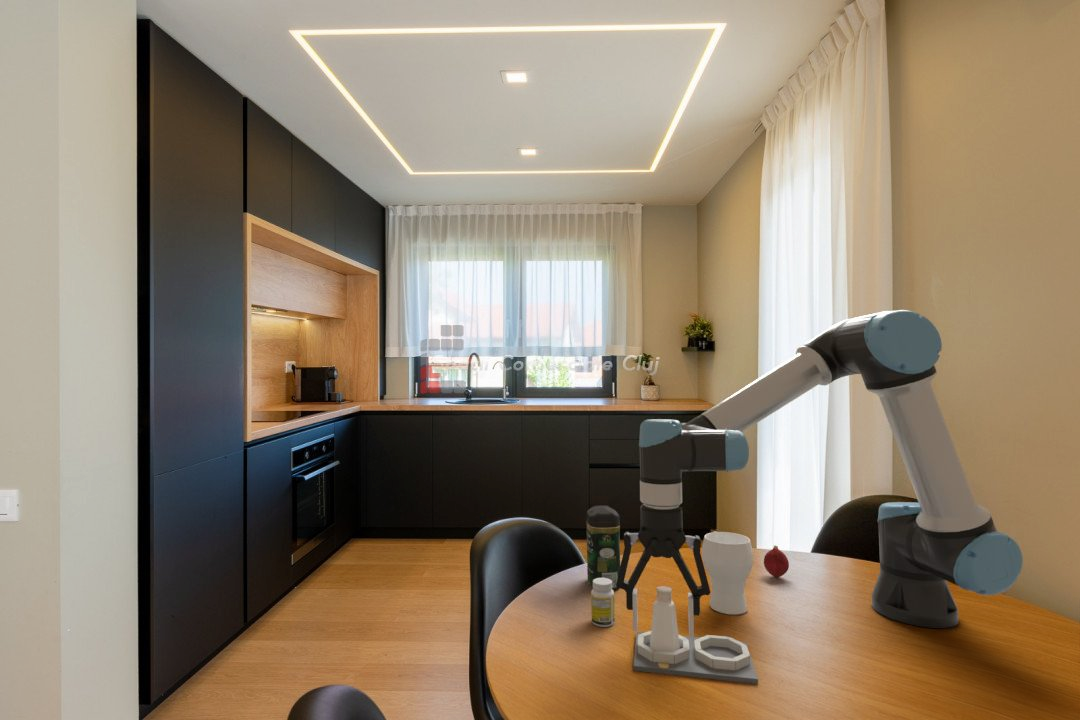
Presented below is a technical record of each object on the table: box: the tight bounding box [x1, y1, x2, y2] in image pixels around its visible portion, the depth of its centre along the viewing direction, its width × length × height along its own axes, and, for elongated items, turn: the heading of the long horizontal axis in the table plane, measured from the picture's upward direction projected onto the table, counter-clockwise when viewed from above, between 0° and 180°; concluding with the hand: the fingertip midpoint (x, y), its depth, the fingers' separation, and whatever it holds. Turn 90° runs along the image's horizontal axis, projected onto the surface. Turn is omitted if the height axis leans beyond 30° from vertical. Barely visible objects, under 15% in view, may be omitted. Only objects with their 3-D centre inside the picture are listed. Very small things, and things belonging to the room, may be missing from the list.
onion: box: [763, 544, 790, 579], centre depth 135 cm, size 6×6×8 cm
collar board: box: [633, 630, 759, 685], centre depth 96 cm, size 20×13×2 cm, turn 78°
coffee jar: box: [586, 505, 621, 591], centre depth 132 cm, size 10×8×19 cm
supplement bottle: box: [590, 578, 616, 628], centre depth 111 cm, size 5×5×8 cm
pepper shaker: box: [650, 585, 680, 652], centre depth 98 cm, size 5×5×11 cm
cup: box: [701, 531, 754, 615], centre depth 118 cm, size 11×11×15 cm
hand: (663, 630), depth 97 cm, fingers open, 9 cm apart
